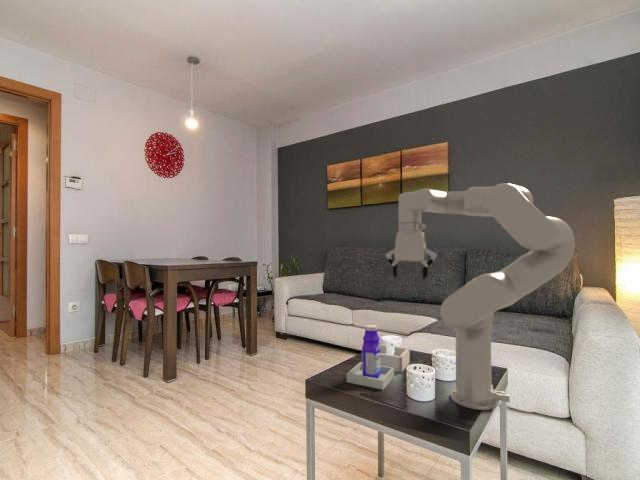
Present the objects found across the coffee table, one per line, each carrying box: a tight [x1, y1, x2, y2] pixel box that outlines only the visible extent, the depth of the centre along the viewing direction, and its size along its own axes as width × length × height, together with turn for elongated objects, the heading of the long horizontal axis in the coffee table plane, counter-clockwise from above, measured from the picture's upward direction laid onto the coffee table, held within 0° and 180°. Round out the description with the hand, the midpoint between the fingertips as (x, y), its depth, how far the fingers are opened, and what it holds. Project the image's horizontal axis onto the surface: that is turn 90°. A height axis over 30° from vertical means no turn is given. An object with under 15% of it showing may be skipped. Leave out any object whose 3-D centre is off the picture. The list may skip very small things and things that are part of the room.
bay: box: [380, 343, 411, 374], centre depth 128 cm, size 12×12×6 cm
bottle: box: [361, 324, 381, 378], centre depth 115 cm, size 7×6×17 cm
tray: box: [346, 361, 395, 390], centre depth 115 cm, size 13×13×3 cm
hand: (410, 278), depth 116 cm, fingers open, 9 cm apart
